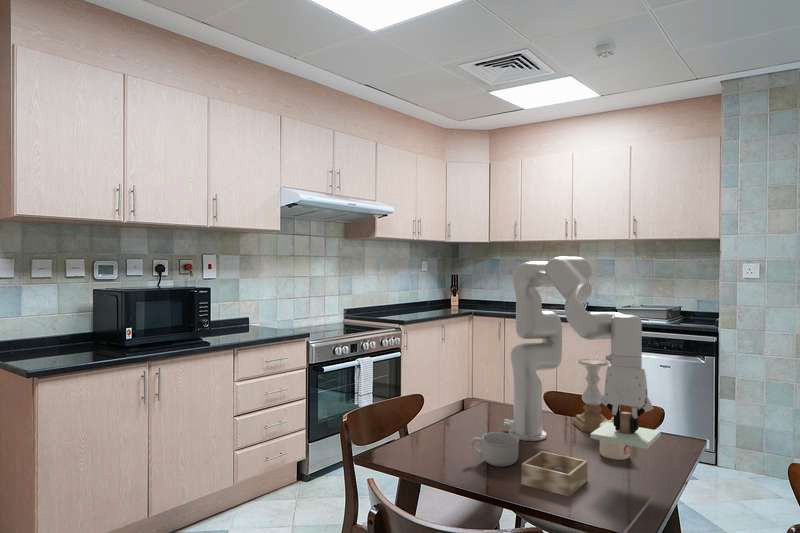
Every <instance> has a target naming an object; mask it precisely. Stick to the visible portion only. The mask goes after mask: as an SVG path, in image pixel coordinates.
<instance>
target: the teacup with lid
mask: <svg viewBox="0 0 800 533" xmlns="http://www.w3.org/2000/svg"><path fill="white" fill-rule="evenodd" d="M608 420H609V421H607V422H611V423H614V416H613V417H611V418H610V419H608ZM607 422H602V423H601V424H600V425H599V427H601V426H602V425H604V424H605V423H607ZM630 449H631V446H629V445H624V444H619V443H613V442H608V441H603V440H599V454H600V456H602V457H603V458H606V459H610V460H615V461H622V460H623V461H624V460H628V459H630V457H631V456H630V455H631V452H630Z"/></svg>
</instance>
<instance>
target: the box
mask: <svg viewBox="0 0 800 533" xmlns="http://www.w3.org/2000/svg"><path fill="white" fill-rule="evenodd" d="M588 463H589V462H588V460H584V459H580V458H575V457H571V456H566V455H561V454H558V453H557V454H556V453H552V452H549V451H544V450H541V451H539V452H538V453H536V454H535V455H533V456H531V457H529V459H526V460H525V461H524V462H522V463H521V466H520V467H521V477H520V478H521V480H520V482H521V483H520V484H521V485H523V486H527V487H530V488H533V489H539V490H543V491H546V492H550V493H554V494H557V495H560V496H561V495H562V496H565V497H567V498H568V497H569V498H570V497H571V496H572V495H573V494H575V493H576V492H577V491H578V490H579V489H580V488H581V487H582V486H584V485H585V483H587V482H588V473H589V472H588V471H589V470H588ZM556 467H561V468H562V469H563V470H564V471H565V473H562V472H557V471H553V470H554V468H556Z"/></svg>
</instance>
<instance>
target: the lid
mask: <svg viewBox="0 0 800 533" xmlns="http://www.w3.org/2000/svg"><path fill="white" fill-rule="evenodd" d="M631 418H632V412H629V411H620V413H619V430H618V431H616V430H615V426H614V423H611V422H607V423H605V424H604V425H602V426H601V427H599V428H598V429H596V430H595V431H593V432H590V434H589V436H590V437H589V438H590V439H591V440H592V439H593V440H598V441H600V440H603V441H608V442H613V443H619V444H624V445H629V446H630V447H635V448H641V449H644V450H646V449H647V450H648V448H650V446H652V445H653V444H654V443H655V441H657V440H658V439H659V438H660V437H661V434H662V431H661V430H657V429H651V428H646V427H638V430H636V432H635V433H634V434H633V433H631V432H630V425H631Z"/></svg>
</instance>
